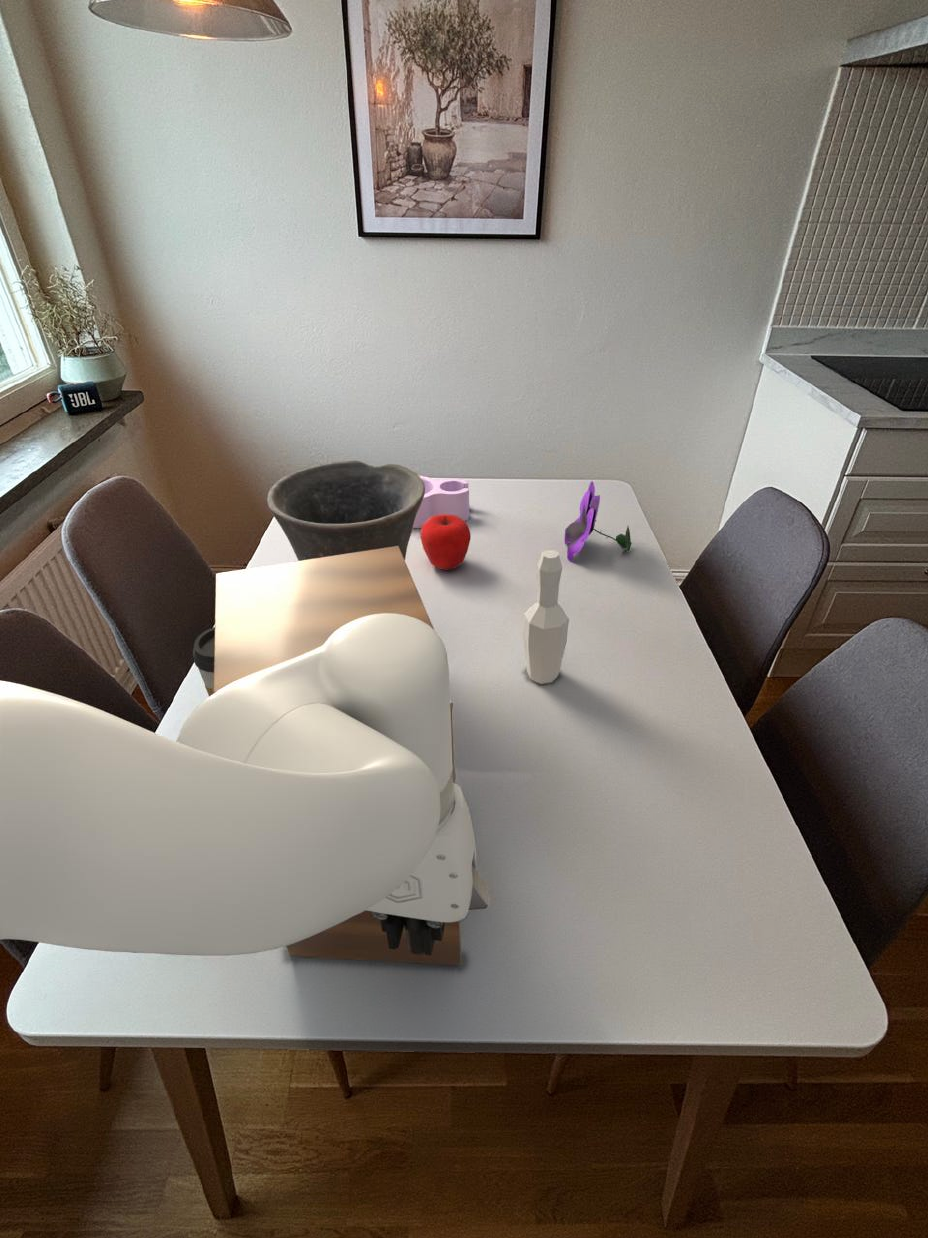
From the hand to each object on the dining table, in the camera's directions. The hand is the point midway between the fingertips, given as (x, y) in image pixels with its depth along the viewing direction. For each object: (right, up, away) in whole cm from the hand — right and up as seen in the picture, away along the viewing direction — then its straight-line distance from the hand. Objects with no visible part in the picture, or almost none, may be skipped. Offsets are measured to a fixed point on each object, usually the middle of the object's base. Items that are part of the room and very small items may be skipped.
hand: (414, 934), depth 56 cm
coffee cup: (-28, +11, +45) cm, 54 cm away
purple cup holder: (-5, +49, +98) cm, 110 cm away
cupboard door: (-5, -11, +13) cm, 18 cm away
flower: (+32, +40, +84) cm, 98 cm away
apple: (+1, +37, +80) cm, 88 cm away
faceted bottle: (+17, +17, +52) cm, 58 cm away
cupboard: (-8, -2, +25) cm, 27 cm away
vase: (-12, +20, +57) cm, 61 cm away
